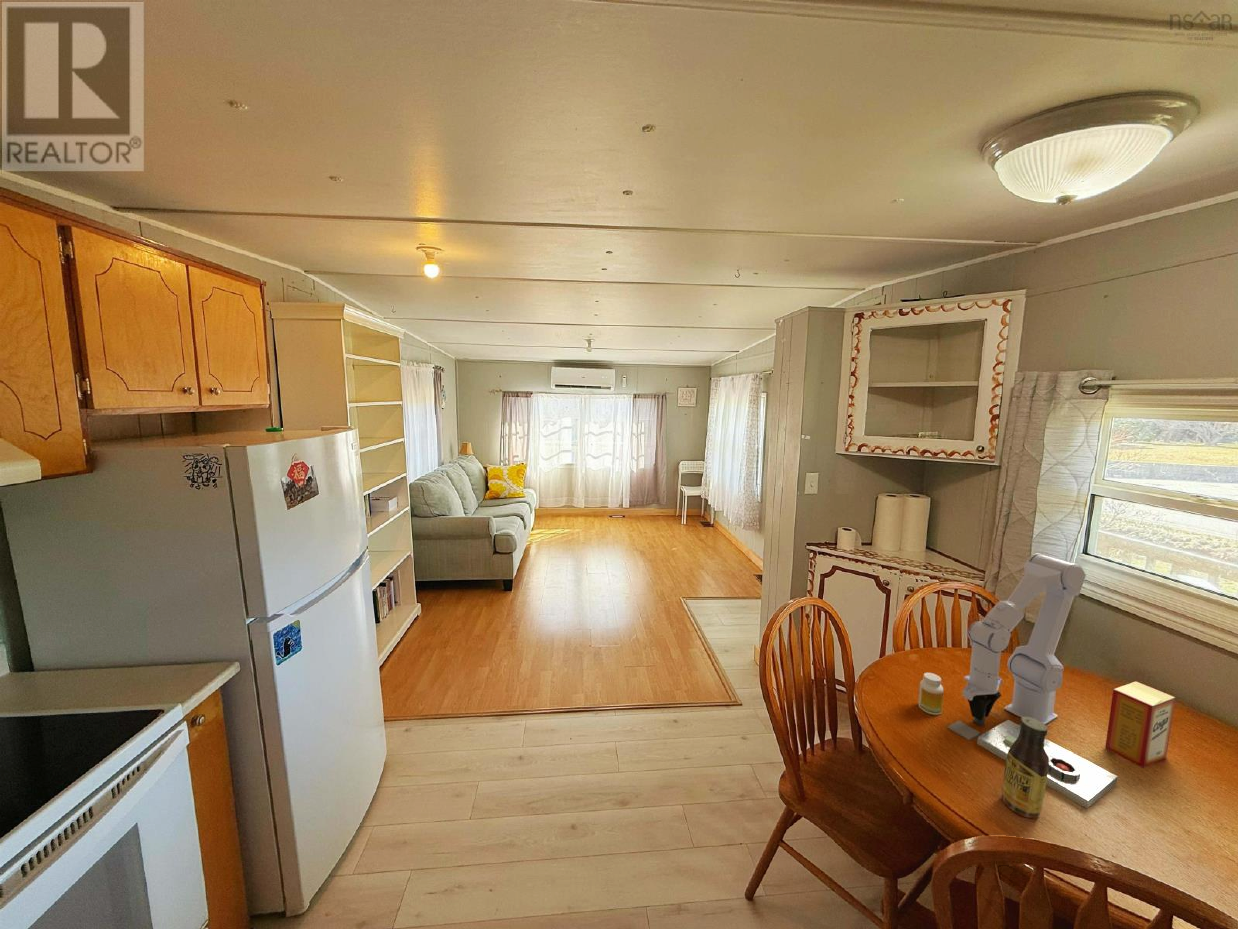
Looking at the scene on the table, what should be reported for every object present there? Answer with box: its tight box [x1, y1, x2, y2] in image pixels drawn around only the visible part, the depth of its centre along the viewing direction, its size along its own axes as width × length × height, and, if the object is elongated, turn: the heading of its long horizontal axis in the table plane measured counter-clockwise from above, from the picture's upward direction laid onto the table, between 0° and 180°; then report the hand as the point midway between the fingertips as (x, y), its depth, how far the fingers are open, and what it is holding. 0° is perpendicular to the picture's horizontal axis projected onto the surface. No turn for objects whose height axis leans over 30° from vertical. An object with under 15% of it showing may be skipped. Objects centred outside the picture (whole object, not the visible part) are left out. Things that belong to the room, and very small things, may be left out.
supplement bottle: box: [917, 672, 944, 716], centre depth 123 cm, size 5×5×10 cm
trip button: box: [1056, 763, 1069, 772], centre depth 100 cm, size 2×2×2 cm
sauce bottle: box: [1001, 717, 1049, 819], centre depth 92 cm, size 7×6×20 cm
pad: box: [1005, 735, 1017, 746], centre depth 108 cm, size 2×2×2 cm
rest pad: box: [947, 720, 982, 741], centre depth 115 cm, size 5×5×1 cm
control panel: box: [976, 719, 1118, 809], centre depth 104 cm, size 14×20×3 cm
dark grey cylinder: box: [973, 695, 987, 727], centre depth 117 cm, size 2×2×8 cm
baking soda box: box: [1105, 681, 1177, 769], centre depth 106 cm, size 10×6×16 cm
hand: (979, 716), depth 118 cm, fingers closed on dark grey cylinder, 2 cm apart
